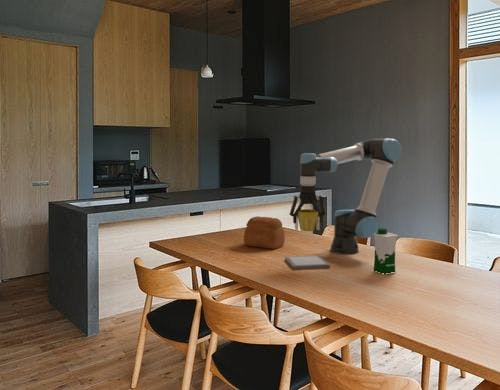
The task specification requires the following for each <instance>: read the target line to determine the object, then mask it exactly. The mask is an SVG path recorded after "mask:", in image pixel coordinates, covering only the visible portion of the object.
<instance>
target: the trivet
mask: <svg viewBox="0 0 500 390" xmlns="http://www.w3.org/2000/svg"><path fill="white" fill-rule="evenodd" d="M284 260H285V262H286V263H288V265H289V266H290V267H291V268H292V269H293V270H307V269H308V270H310V269H312V270H313V269H330V268H331V265H330V263H328V262H327V261H326V260H325V259H324V258H322V257H321V256H320V255H302V256H301V255H299V256H298V255H297V256H295V255H293V256H284Z"/></svg>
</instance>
